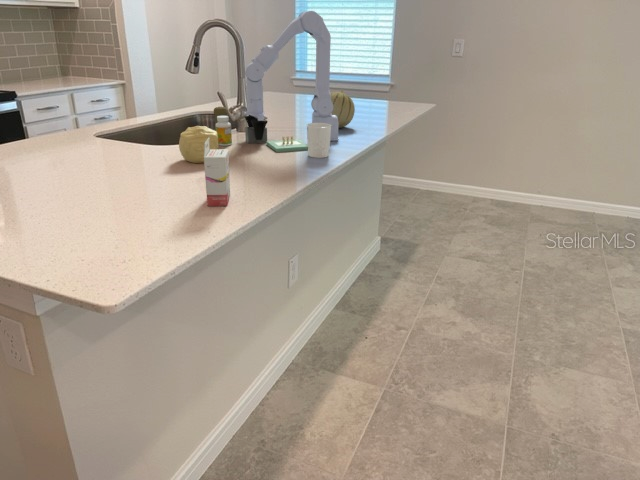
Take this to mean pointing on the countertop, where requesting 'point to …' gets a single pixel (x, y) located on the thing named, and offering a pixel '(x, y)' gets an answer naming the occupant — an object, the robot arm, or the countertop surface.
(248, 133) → the block
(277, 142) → the board
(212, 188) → the ink cartridge box
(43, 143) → the countertop surface
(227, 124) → the supplement bottle
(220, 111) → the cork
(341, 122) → the ribbed yellow gourd
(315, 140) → the white cup
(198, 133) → the pale yellow rounded piece
